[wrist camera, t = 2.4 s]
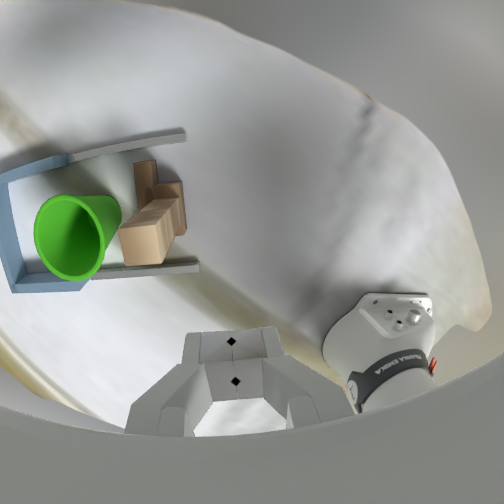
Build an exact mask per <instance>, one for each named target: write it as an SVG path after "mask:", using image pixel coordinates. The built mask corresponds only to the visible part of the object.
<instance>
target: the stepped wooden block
mask: <svg viewBox="0 0 504 504" xmlns="http://www.w3.org/2000/svg"><path fill="white" fill-rule="evenodd" d="M133 167H134V177H135V185H136V193H137V201H138V208H139V212H138V213H137V214H135V215H134V216H133V217H132V218H131V219H129V220H128V221H127V222H126V223H124V224H123V225H122V226H121V227H120V228H119V229H118V232H119V238H120V243H121V248H122V253H123V257H124V262H125V266H136V265H149V264H161V263H162V262H163V260H164V258H165V256H166V254H167V252H168V250H169V248H170V246H171V244H172V242H173V240H174V238H175V236H180V235H184V234H185V231H186V229H187V224H186V216H185V207H184V198H183V188H182V181H175V182H167V183H159V184H158V178H157V168H156V160H150V161H143V162H138V163H133Z"/></svg>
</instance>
